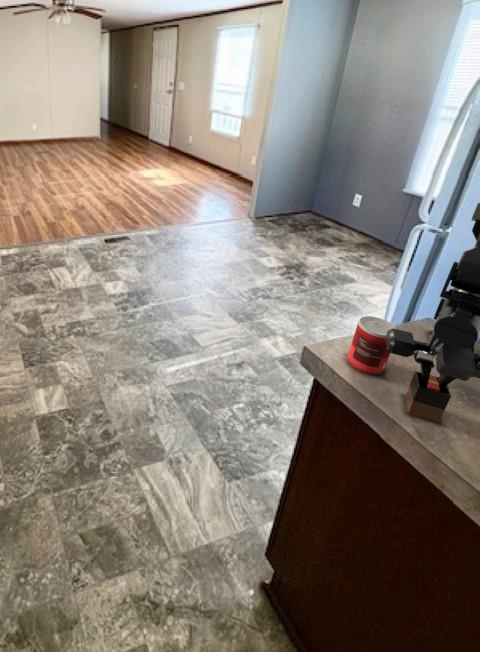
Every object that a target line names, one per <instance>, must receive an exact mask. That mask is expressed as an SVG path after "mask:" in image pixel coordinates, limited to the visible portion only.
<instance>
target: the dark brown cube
mask: <svg viewBox="0 0 480 652" xmlns="http://www.w3.org/2000/svg"><path fill="white" fill-rule="evenodd" d="M404 400H405V405H406V410H407V415H411V416H415V417H418V418H421V419H424V420H428V421H431V422H434V423H438V424H439V423H440V421H441V419H442V418H443V415H444V413H445V410H443V409H440V408H437V407H433V406H430V405H427V404H423V403H420V402H417V401H413V397H412V393H411V388H410V384H409V386H408V388H407V390H406V393H405V395H404Z"/></svg>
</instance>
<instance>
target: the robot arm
mask: <svg viewBox="0 0 480 652" xmlns="http://www.w3.org/2000/svg"><path fill="white" fill-rule="evenodd" d="M471 221H472V222H474V224H473V226H472V229H471V232H472V235H473V237H474V238H475V241H476V242H475V244H474V247H472V248H471V249H467V250H465V251H463V252H462V254H461V257H460V259H459V261H453V263H452V265H451V268H450V270H449V272H448V275H447V278H446V279H445V283H444V285H443V287H442V290H441V291H440V295H439V297H440V298H441V299H440V301H439V303H438V305H437V308H436V310H435V313H434V316H433V320H435V324H434V326H433V330H430V331H429V337H428V340H429V341H428V343H427V342H423V341H419V340H415V339H414V335H413V332H411V331H406V330H402V329H398V328H396V329H394V328H392V329H390V330H388V331H387V334H386V337H385V338H386V344H387V350H388V351H389V352H390V354H392V355H396V356H399V357H404V358H409V357H412V356H413V359H414V362H415V363H417V364H420V373H421V375H422V385H423V387H426V385H427V383H428V380H429V377H430V375H431V373H432V369H433V368H435V370H436V372H437V373H438V374H439V376H438V383H439V388H440V390H441V389H443V388H444V387H445V386H447V385H448V386H449V384H451V383H452V382H454V381H455V380H457V379H458V380H459V381H462V382H468V381H469V380H470V379H471V378H477V379H480V349H478V350H476V352H475V344H476V343H477V341H478V338H479V334H480V202H477V205H476V207H475V209H474V211H473V214H472V217H471ZM449 285H450V287H452V288H449V289H448V287H449ZM434 357H435V364H434ZM435 365H436V366H435Z"/></svg>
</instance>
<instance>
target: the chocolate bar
mask: <svg viewBox="0 0 480 652" xmlns="http://www.w3.org/2000/svg"><path fill="white" fill-rule="evenodd" d="M432 376H433V375H431V376H430V377H429V380H428V383H427V385H426V387H425V388H428V389H432V390H435V391H440V388H439V383H438V381H437V378H436V377H437V376H435V377H432Z"/></svg>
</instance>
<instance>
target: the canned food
mask: <svg viewBox="0 0 480 652" xmlns="http://www.w3.org/2000/svg"><path fill="white" fill-rule="evenodd" d="M392 328H394V329H397V327H396V326H395V325H394V324H393V323H391V322H389V321H388V320H385V319H384V318H380V317H377V316H372V315H366V316H365V315H364V316H362V317H360V318H359V320H358V322H357V324H356V327H355V331H354V335H353V338H352V341H351V344H350V347H349V349H348V350H349V351H348V354H347V360H348V362H349V364H350V365H351V366H352V367H353V368H354V369H356V370H358V371H359V372H361V373H364V374H368V375H379V374H381V373H383V372H384V371H385V369H386V366H387V364H388V361H389V358H390V356H391V353H390V352H389V351H388V350H387V344H386V338H385V337H386V334H387V331H388V330H390V329H392Z"/></svg>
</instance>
